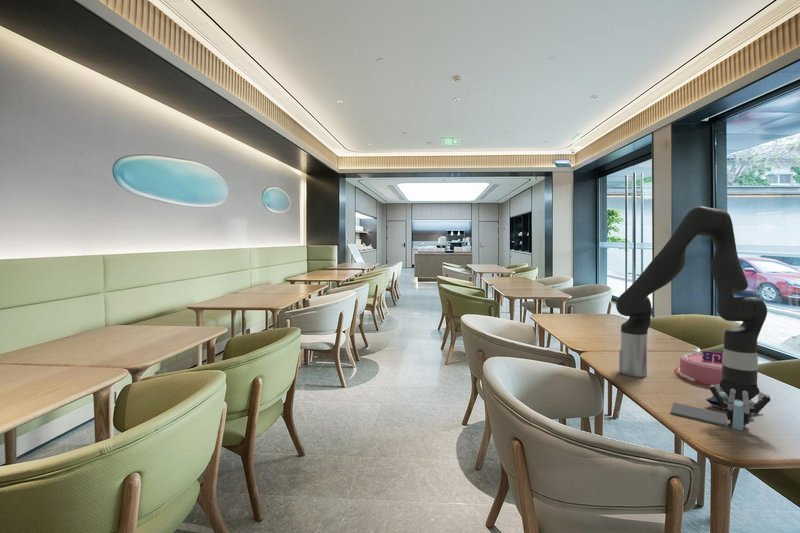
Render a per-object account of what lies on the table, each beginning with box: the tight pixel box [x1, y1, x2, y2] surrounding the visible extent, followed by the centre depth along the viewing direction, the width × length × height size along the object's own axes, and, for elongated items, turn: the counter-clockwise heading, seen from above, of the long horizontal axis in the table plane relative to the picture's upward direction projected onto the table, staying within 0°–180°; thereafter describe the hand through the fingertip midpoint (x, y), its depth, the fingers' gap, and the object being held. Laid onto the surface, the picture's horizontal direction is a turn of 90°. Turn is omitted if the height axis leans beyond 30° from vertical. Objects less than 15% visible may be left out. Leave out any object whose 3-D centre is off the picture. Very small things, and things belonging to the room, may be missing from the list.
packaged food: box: [705, 391, 757, 416], centre depth 116 cm, size 9×12×5 cm
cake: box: [673, 350, 759, 387], centre depth 144 cm, size 25×25×11 cm
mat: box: [670, 402, 727, 427], centre depth 113 cm, size 13×9×1 cm
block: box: [732, 400, 744, 431], centre depth 106 cm, size 2×7×6 cm, turn 138°
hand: (737, 423), depth 106 cm, fingers closed on block, 2 cm apart
